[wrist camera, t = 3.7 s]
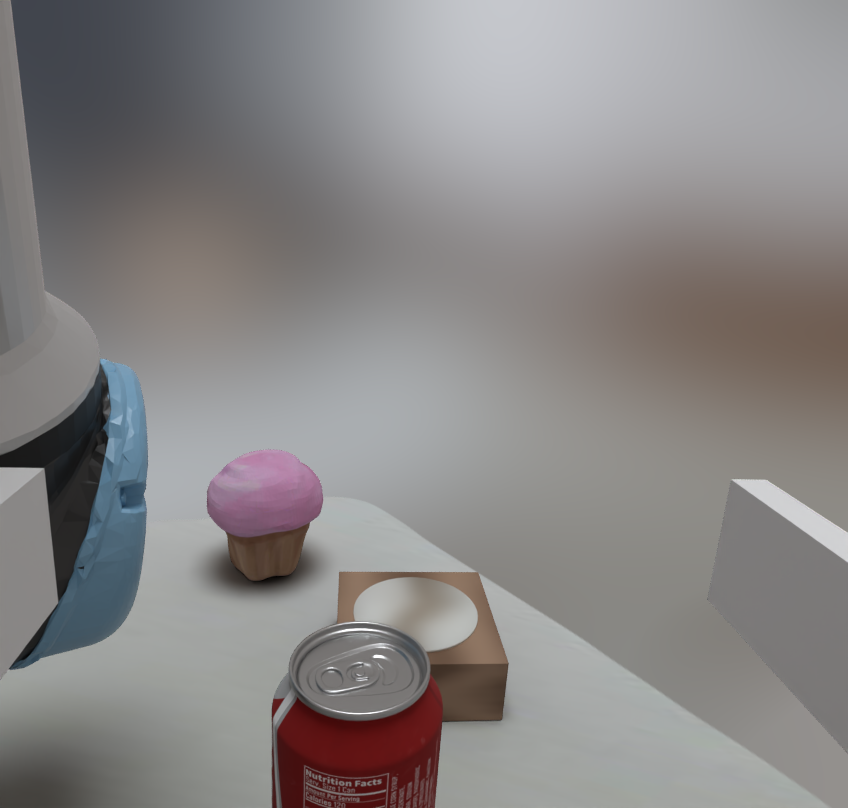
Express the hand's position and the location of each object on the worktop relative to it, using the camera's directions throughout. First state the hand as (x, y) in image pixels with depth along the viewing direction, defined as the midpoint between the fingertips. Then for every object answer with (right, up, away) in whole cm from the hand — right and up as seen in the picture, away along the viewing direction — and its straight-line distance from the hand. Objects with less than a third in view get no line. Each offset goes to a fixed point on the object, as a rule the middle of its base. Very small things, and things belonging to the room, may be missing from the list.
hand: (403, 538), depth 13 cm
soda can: (-3, -19, +17) cm, 26 cm away
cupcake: (-13, -11, +42) cm, 45 cm away
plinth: (0, -15, +31) cm, 35 cm away
